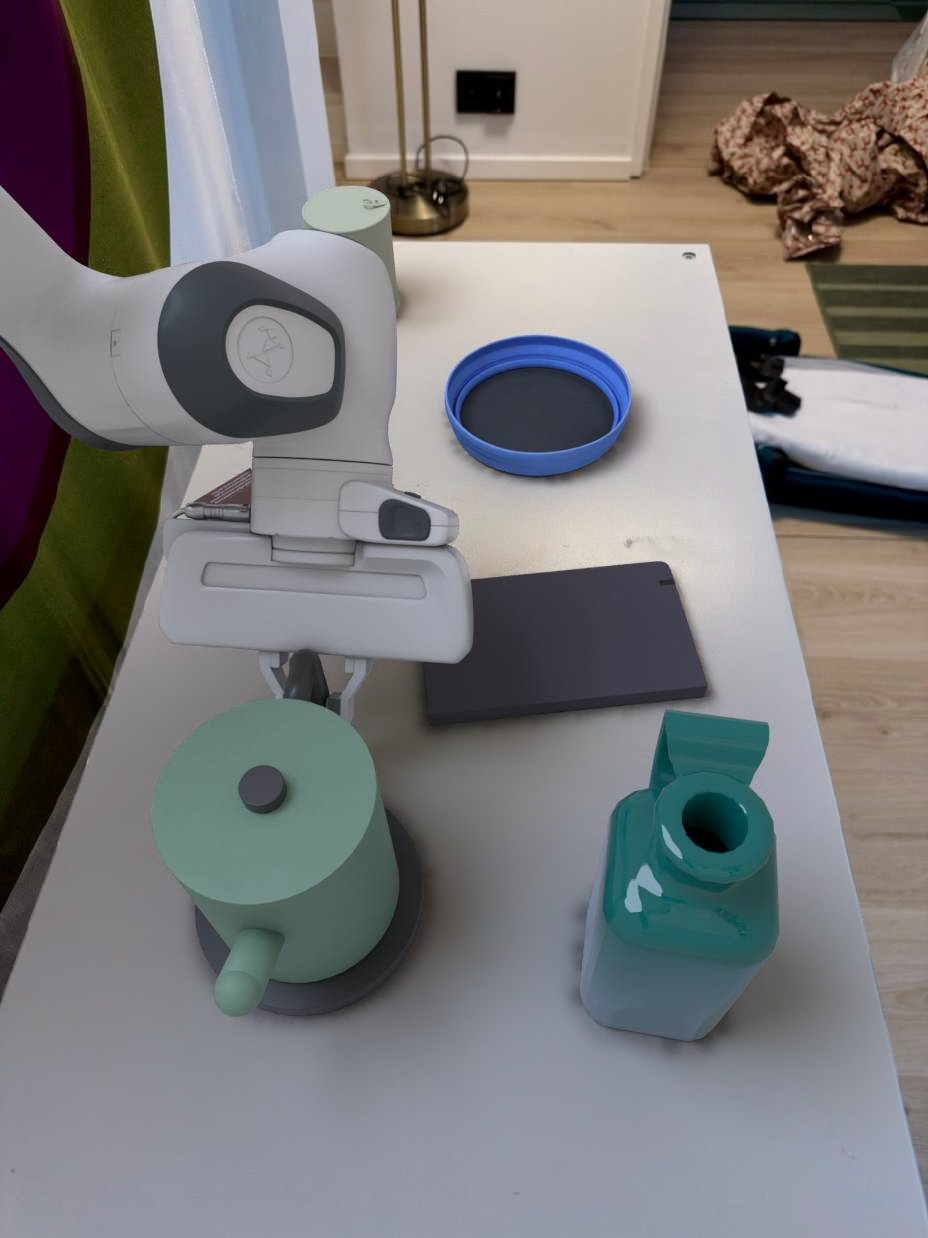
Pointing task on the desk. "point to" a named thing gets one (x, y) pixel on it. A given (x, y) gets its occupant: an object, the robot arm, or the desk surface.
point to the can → (356, 221)
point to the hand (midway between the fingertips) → (314, 720)
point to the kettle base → (365, 972)
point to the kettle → (279, 838)
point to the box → (231, 491)
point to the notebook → (569, 645)
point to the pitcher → (684, 885)
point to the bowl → (537, 404)
